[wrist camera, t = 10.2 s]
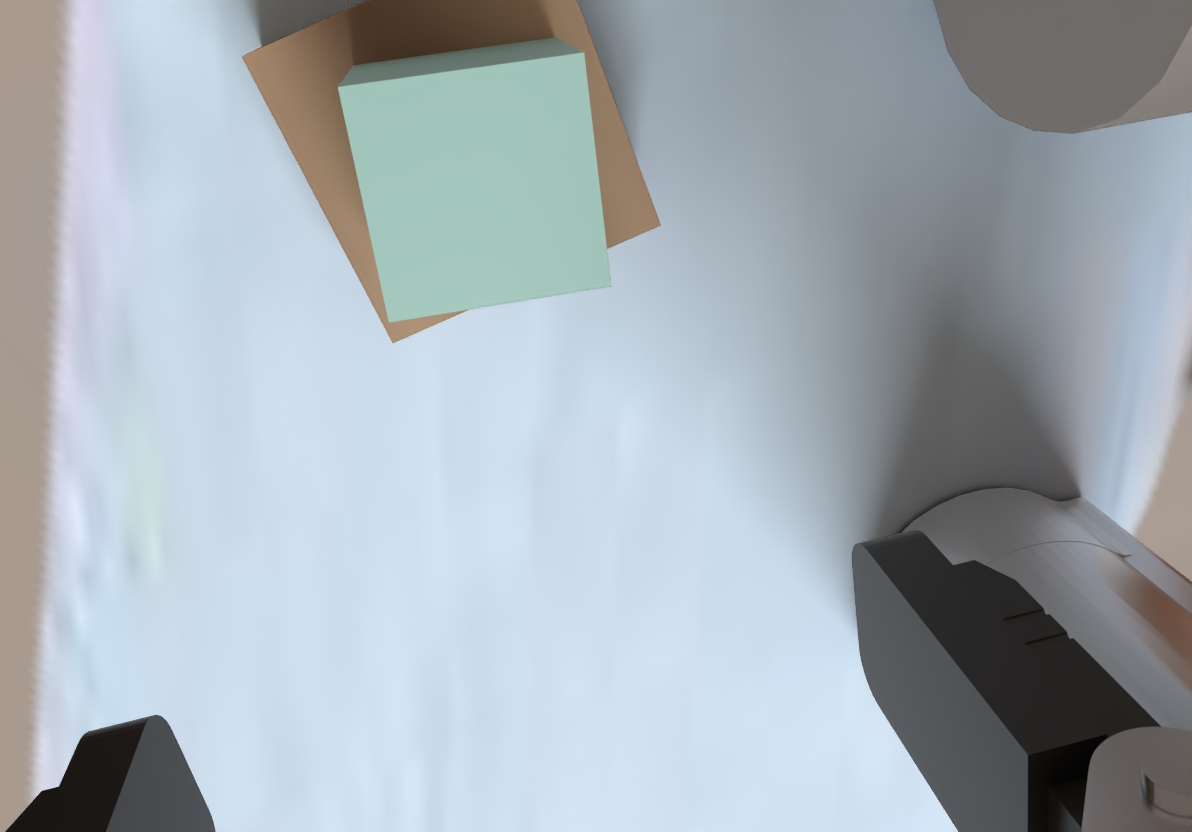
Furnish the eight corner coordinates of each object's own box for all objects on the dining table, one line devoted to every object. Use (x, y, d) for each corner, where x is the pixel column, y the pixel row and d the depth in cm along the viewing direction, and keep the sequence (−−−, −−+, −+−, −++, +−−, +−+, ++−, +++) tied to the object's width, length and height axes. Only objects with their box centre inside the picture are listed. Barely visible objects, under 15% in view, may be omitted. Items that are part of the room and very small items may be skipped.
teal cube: (554, 37, 25) (584, 52, 20) (580, 233, 27) (611, 286, 23) (353, 65, 25) (337, 87, 20) (394, 262, 27) (388, 322, 22)
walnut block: (529, -72, 28) (547, -80, 24) (631, 196, 31) (660, 225, 27) (263, 45, 28) (241, 56, 24) (394, 300, 31) (392, 343, 27)
